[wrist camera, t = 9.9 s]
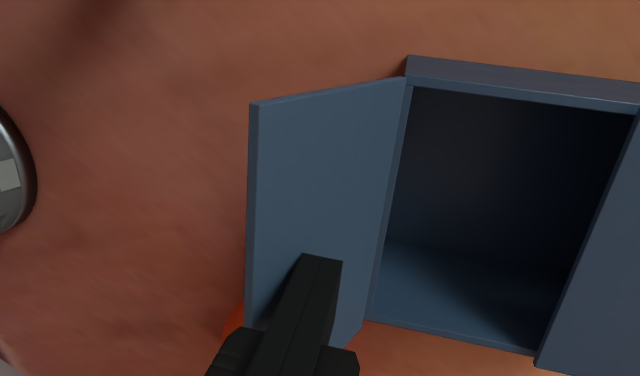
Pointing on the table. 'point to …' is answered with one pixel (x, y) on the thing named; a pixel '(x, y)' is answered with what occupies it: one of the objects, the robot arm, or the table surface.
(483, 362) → the table surface
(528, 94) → the carton
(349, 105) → the flap
